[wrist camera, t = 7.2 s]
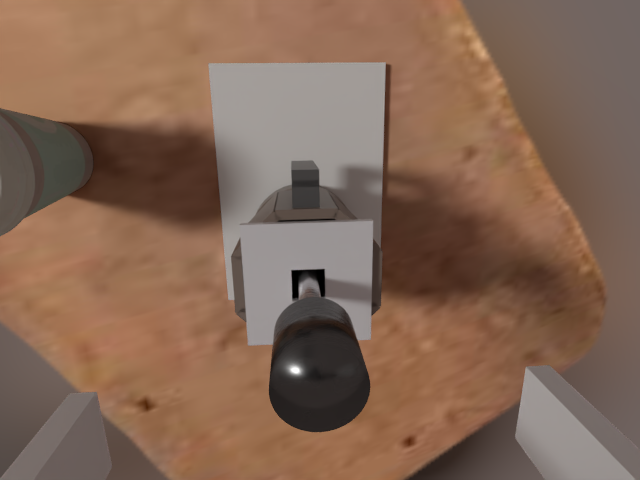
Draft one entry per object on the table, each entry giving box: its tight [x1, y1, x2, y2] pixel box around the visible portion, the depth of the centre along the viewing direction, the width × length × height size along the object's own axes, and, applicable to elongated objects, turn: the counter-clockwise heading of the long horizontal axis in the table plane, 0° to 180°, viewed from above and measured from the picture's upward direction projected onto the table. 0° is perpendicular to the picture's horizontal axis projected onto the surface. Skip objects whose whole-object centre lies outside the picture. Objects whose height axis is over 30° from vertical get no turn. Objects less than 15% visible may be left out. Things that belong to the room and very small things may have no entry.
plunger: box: [269, 269, 370, 432], centre depth 22 cm, size 4×4×16 cm
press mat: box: [208, 62, 386, 300], centre depth 34 cm, size 20×14×1 cm
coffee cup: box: [0, 108, 93, 236], centre depth 27 cm, size 8×8×12 cm
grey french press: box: [231, 160, 382, 346], centre depth 29 cm, size 11×9×12 cm
